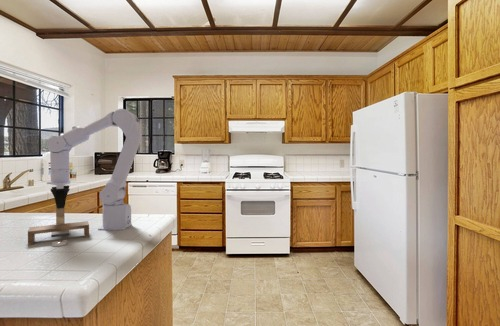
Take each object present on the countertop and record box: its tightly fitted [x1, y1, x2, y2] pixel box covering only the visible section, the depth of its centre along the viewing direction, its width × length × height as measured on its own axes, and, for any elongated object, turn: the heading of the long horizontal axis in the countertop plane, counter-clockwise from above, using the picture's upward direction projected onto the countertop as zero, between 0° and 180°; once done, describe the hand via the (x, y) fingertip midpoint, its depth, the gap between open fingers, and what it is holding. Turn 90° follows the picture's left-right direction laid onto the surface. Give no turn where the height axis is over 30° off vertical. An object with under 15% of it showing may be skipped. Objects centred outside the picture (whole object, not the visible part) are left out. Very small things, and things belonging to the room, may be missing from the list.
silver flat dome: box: [50, 239, 68, 248], centre depth 86 cm, size 4×4×1 cm
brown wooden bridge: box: [27, 220, 90, 246], centre depth 92 cm, size 16×6×4 cm, turn 123°
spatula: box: [50, 206, 70, 238], centre depth 100 cm, size 12×5×9 cm, turn 34°
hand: (60, 206), depth 104 cm, fingers open, 7 cm apart
